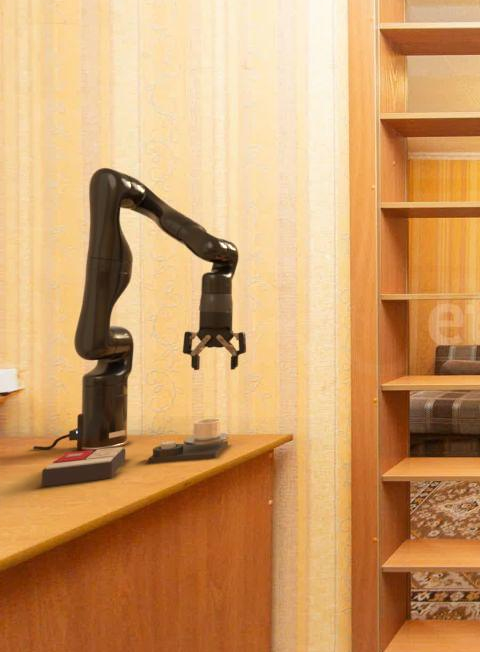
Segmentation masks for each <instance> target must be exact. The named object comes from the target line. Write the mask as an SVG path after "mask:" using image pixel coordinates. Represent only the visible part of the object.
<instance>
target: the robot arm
mask: <svg viewBox="0 0 480 652" xmlns="http://www.w3.org/2000/svg"><path fill="white" fill-rule="evenodd" d="M88 200H89V234H88V247H87V248H88V249H87V255H86V264H85V278H84V287H83V294H82V302H81V309H80V312H79V317H78V321H77V325H76V329H75V333H74V339H73V340H74V341H73V344H74V349H75V352H76V354H77V356H79V358H81V359H82V360H85V361H97V362H96V365H95V366H94V367H93V368H92V369H91V370H90V371H88V372H86V373H85V374H83V375H82V377H81V413H79V414H77V416H76V417H77V423H76V428H73V429H71V430H69V431H68V434H65V435H61V436H59V437H57V438H56V439H55V440H54V441H53V443H52V444H51V445H49V446H42V445H41V446H38V445H34V446H33V447H32V449H33V450H51V449H53V448H55V447H56V446H57V444H58V443H59V442H60V441H61V440H65V439H66V438H68V441H76V451H88V450H94V452H95V451H96V450H98V449H108V448H117V447H123V446H126V445H127V444H128V401H129V400H128V398H129V396H128V395H129V393H128V392H129V377H130V375H131V373H132V371H133V363H134V362H133V361H134V349H135V345H134V344H135V343H134V338H133V335H132V333H131V332H130V330H128V329H127V328H126V327H124V326H119V325H111V319H112V313H113V310H114V307H115V305H116V303H117V302H118V300H119V299H120V298H121V296H122V295H123V294H124V293H125V291H126V290H127V288H128V287H129V285H130V283H131V280H132V276H133V275H132V274H133V263H134V257H133V251H132V249H131V247H130V244H129V242H128V240H127V237H126V236H125V233H124V231H123V229H122V225H121V209H123V210H130V211H133V212H135V213H137V214H140V215H142V216H145V217H146V218H148V219H149V220H151V221H153V222H154V224H155V225H156V226H157V227H158V228H159V229H160V230H161V231H162V232H163V233H164V234H166V235H167V236H169V237H170V238H172V239H173V240H175V241H176V242H178V243H180V244H182V245H183V246H185V247H186V248H187V249H188V251H190V252H191V253H192V255H194V256H196V257H197V258H199V259H201V260H202V261H204V262H207V263H211V264H212V265H211V270H210V271H207V272H204V273H203V274H202V276H201V282H200V285H201V286H200V287H201V288H200V298H199V306H198V310H199V321H198V331H196V332H195V331H190V330H188V331H185V332H184V334H183V344H182V353H183V355H189V356H190V357H191V362H190V363H191V364H190V365H191V366H190V367H191V369H193V371H199V370H200V368H201V367H200V365H201V364H200V362H201V356H200V355H199V354H200V353H202V351H204V350H205V349H206V348H211V349H212V348H217V349H218V348H219V349H222V348H224V349H226V350H227V351H228V352H229V354H230V370H231V371H233V370H236V368H238V367H239V356H240V355H243V354H245V353H246V352H247V340H246V339H247V338H246V332H244V331H240V332H234V330H233V312H234V310H233V309H234V302H233V301H234V300H233V278H234V276H235V275H236V274H235V273H236V270H237V267H238V264H239V263H238V262H239V257H240V253H239V250H238V247H237V246H236V244H235V243H234V242H232V241H231V240H227V239H224V238H220V237H217V236H215V235H212V234H210V233H209V232H208V231H207V229H206V228H205V227H204V226H203V225H202V224H200V223H198V222H197V221H195V220H194V219H193V218H191V217H189V216H187V215H186V214H184V213H183V212H181V211H179V210H177V209H176V208H174V207H172V206H171V205H169V204H168V203H167V202H165V201H164V200H163V199H162V198H160V197H159V196H158V195H157V194H156V193H155V192H154V191H152V189H150V188H149V187H148V186H147V185H146V184H145V183H143V182H142V181H141V180H139V179H138V178H136V177H134V176H131V175H129V174H126V173H124V172H121V171H118V170H116V169H113V168H109V167H102V168H99V169H96V171H94V173H93V174H92V176H91V177H90V180H89V185H88ZM196 337H197V338H198V339H199V341H200V342H199V343H198V344H197V345H196V346H195V348H194V349H193V348H192V347H193V340H195V339H196ZM234 338H235V340H236V341H238V350H237V349H236V347H235V346H234V344H233V343H232V342H231V341H232V339H234Z"/></svg>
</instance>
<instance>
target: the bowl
mask: <svg viewBox="0 0 480 652" xmlns="http://www.w3.org/2000/svg"><path fill="white" fill-rule="evenodd" d="M221 433H222V419H221V418H205V419H204V418H203V419H199V420H195V421H194V422H193V436H194V438H196V439H197V440H209V439H214V438H217V437H218V436H220V435H221Z"/></svg>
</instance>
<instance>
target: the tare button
mask: <svg viewBox="0 0 480 652" xmlns="http://www.w3.org/2000/svg"><path fill="white" fill-rule="evenodd" d="M176 444H177V442H176V440H167V441H163V442H161V443H160V446H161V449H170V448H175V447H176Z"/></svg>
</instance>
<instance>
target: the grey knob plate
mask: <svg viewBox="0 0 480 652" xmlns="http://www.w3.org/2000/svg"><path fill="white" fill-rule="evenodd" d="M228 446H229V440H225V441H221V442H218V443H212V444H205V445H188V444H184V443H176V447H175V448H170V449H161V445H157V446H155V447H153V448H152V455H151V456H149V457H148V464H155V463H156V464H157V463H169V462H171V463H172V462H181V461H182V462H183V461H184V462H185V461H196V460H211V459H216V458H217V457H218V456H219V455H220V454H221V453H222V452H223V451H224V450H225V449H226V448H227V447H228Z"/></svg>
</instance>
